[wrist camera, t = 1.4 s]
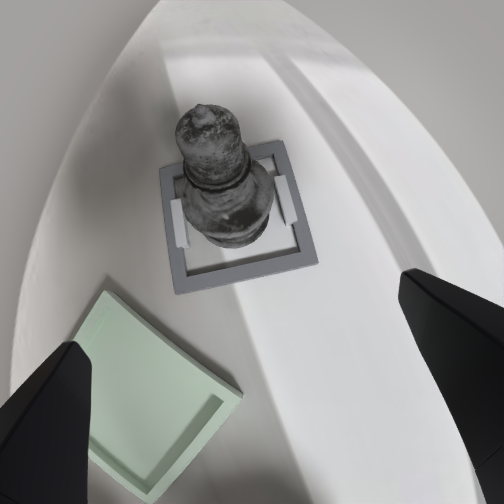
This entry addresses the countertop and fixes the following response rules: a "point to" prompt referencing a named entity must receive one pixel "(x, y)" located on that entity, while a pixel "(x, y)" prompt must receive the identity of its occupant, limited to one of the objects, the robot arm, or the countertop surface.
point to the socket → (304, 258)
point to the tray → (146, 400)
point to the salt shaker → (222, 179)
